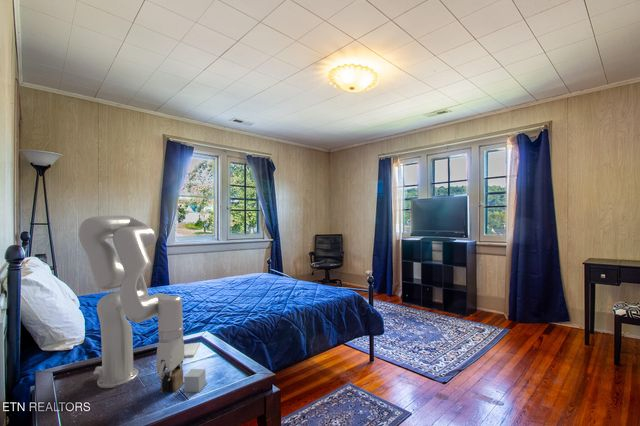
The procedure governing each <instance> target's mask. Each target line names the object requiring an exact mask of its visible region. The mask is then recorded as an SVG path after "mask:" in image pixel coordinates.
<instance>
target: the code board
mask: <svg viewBox="0 0 640 426" xmlns="http://www.w3.org/2000/svg"><path fill="white" fill-rule="evenodd" d="M207 384H208V382H206V384H205V385H204V386H203V388H202V389H201V390H200V391H199V392H184V390H183V391H182V393H183V394H186V393H187V394H200V393H201V392H202V391H203V390H204V389H205V388H206V386H207ZM182 387H184V382H183V384H182V385H181V387H180V388H179V389H178V390H177V391H176V392H170V393H175V394H176V393H178V391H179V390H180V389H182ZM159 393H164V392H163V391H161V390H160V391H159Z"/></svg>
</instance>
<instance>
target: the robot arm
mask: <svg viewBox="0 0 640 426" xmlns="http://www.w3.org/2000/svg"><path fill="white" fill-rule="evenodd" d="M78 238H79V242H80V244H81V247H82V248H83V250H84V252H85V255H86V256H87V258H88V262H89V263H88V264H89V266H90V270H91V274H92V277H93V280H94V284H95V286H96V287H97V289H98V290H100V291H109V290H115V289H120V290H118V291H115V292H111V293H108V294H106V295H103V296H102V297H101V298H100V299H99V300H98V302H97V304H96V313H97V316H98V319H99V324H100V335H101V336H100V337H101V343H100V344H101V362H102V363H101V365H100V366H96V367H95V369H94V371H93V375H94V376H99V377H98V379H97V382H96V383H97V384H96V385H97V387H98V388H101V389H102V388H103V389H112V388H117V387H118V386H120V385H124V384H126V383H128V382H130V381H132V380H133V379H135V378H136V377H138V375H139V370H138V368H136V367H134V349H133V348H134V347H133V346H134V345H133V344H134V343H133V326H132V324H131V323H130V322H129V321H131V322H132V323H134V324H139V323H143V322H145V321H148V320H150V319H152V318H155V317H157V323H158V324H157V325H158V342H157V347H156V362H155V363H156V366H155V369H156V370H155V371H156V372H157V378H158V379H160V382H161V381H162V386H163V392H162V393H171V392H172V391H173V381H172V379H171V376H172V370H173V369H183V363H184V360H185V358H184V356H185V355H184V344H185V342H184V319H183V318H184V317H183V315H184V314H183V298H182V297H181V296H180V295H169V294H167V293H166V294H165V293H162V292H161V293H160V292H159V293H155V294H151V295H150V294H149V291H148V287H147V284H146V280H145V277H144V273H146V271H148V270H149V269H151V267H152V262H151V261H152V260H150V257H149V254H148V252H147V249H146V248H151V247H153V246H154V245H155V243H156V241H157V240H156V239H157V238H156V233H155V232H154V229H152V228H151V227H150V226H149V225H147V224H146V223H144V222H142V221H140V220H138V219H136V218H134V217H132V216H129V215H95V216H91V217H90V216H89V217H88V218H85V219H84V220H83V221H82V222H81V224H80V225H79V229H78ZM106 239H112V242H113V245H114V247H115V249H114V248H113V247H112V245H111V244H110V243H109V242H107V241H106ZM115 250H116V251H115ZM118 258H119V259H118ZM165 373H168V376H167V375H165Z"/></svg>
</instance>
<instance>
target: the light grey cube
mask: <svg viewBox="0 0 640 426" xmlns="http://www.w3.org/2000/svg"><path fill="white" fill-rule="evenodd" d="M206 379H207V377H206V368H191V369H189V371H188V372H187V373H186V374H185V375H183V383H184V385H183V387H184V388H183V389H184V390H183V391H184V392H199V391H200V390H201V389H202V388H203V386H204V385H205V384H206V383H207V382H206ZM203 389H204V388H203Z"/></svg>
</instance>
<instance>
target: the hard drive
mask: <svg viewBox="0 0 640 426" xmlns="http://www.w3.org/2000/svg"><path fill="white" fill-rule="evenodd" d="M200 345H201V343H200V342H194V343H191V342H190V343H184V355H185V356H184V359H185V358H186V359H187V358H195V355H196V354H197V351H198V350H199V348H200Z"/></svg>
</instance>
